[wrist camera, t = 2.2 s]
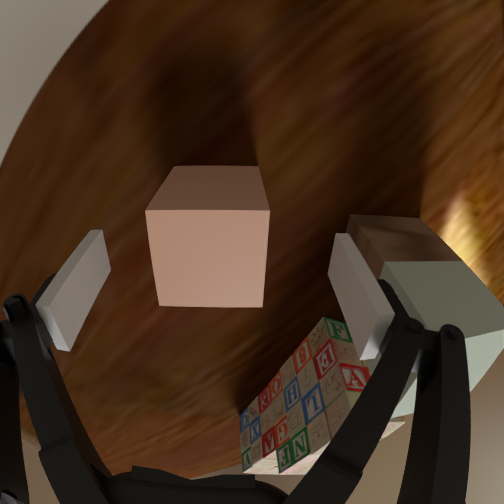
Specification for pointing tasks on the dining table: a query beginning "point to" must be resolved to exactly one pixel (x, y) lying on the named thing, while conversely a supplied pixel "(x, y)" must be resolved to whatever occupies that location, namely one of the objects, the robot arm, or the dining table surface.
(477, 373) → the upper cube
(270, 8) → the dining table surface
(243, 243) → the top block
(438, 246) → the lower cube
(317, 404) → the stack of blocks
